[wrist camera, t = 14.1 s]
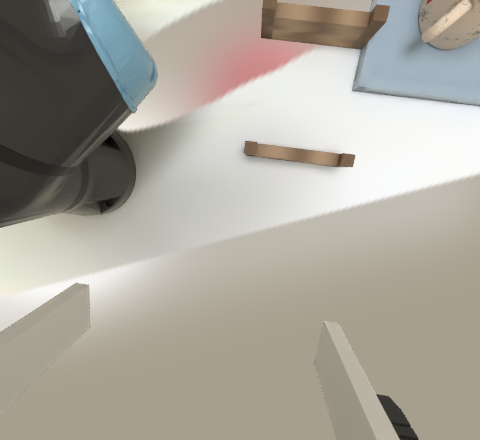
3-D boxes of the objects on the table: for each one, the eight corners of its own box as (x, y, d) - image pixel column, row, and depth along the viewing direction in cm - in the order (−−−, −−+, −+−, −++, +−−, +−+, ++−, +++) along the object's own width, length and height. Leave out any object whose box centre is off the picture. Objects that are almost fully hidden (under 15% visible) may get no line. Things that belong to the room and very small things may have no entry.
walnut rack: (245, 155, 37) (244, 152, 30) (262, 25, 33) (264, -8, 26) (335, 166, 36) (352, 167, 30) (364, 36, 32) (390, 5, 26)
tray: (352, 90, 34) (358, 86, 32) (386, -66, 30) (395, -82, 28) (495, 107, 33) (510, 103, 31) (550, -50, 29) (572, -66, 27)
